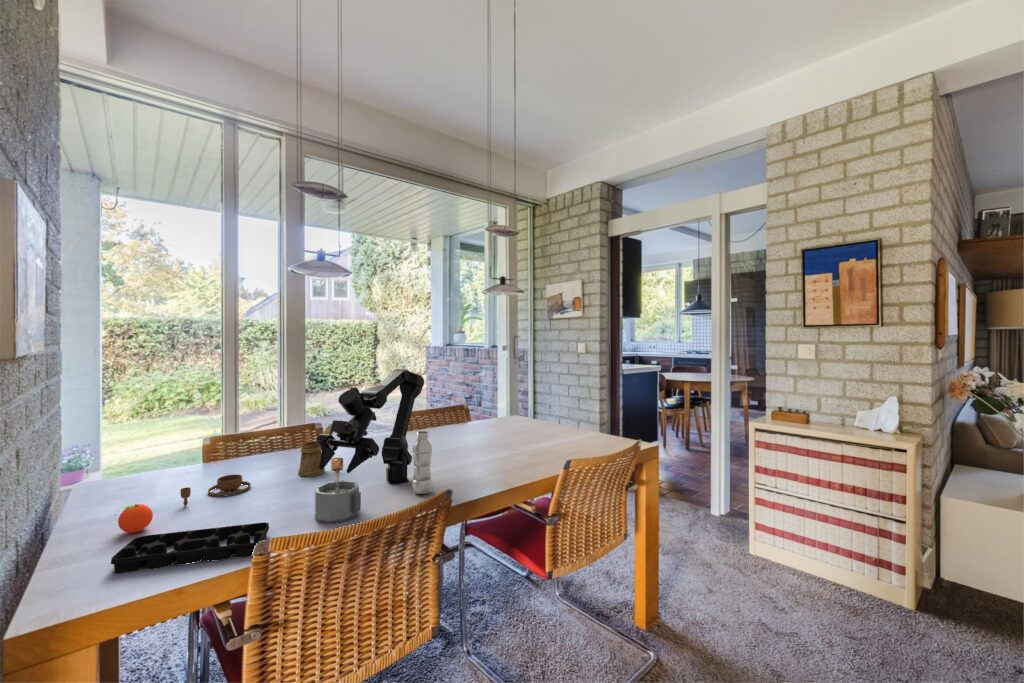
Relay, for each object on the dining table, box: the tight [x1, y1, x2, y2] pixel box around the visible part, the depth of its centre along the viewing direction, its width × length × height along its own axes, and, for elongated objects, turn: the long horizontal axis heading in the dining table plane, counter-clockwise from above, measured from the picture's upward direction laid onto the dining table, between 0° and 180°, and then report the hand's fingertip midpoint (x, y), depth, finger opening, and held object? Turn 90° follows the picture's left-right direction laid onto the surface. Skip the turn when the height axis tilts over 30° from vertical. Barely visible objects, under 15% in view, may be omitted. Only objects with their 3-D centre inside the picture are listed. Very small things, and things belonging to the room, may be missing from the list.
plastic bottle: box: [411, 430, 433, 495], centre depth 144 cm, size 6×7×20 cm
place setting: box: [179, 474, 252, 507], centre depth 142 cm, size 18×20×6 cm
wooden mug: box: [297, 423, 334, 478], centre depth 166 cm, size 9×14×18 cm, turn 134°
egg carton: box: [110, 522, 270, 575], centre depth 104 cm, size 18×30×4 cm, turn 121°
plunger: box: [323, 457, 351, 494], centre depth 126 cm, size 8×8×10 cm
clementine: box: [114, 503, 154, 534], centre depth 114 cm, size 8×7×7 cm
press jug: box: [314, 479, 362, 524], centre depth 126 cm, size 12×13×8 cm
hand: (333, 470), depth 125 cm, fingers open, 9 cm apart
